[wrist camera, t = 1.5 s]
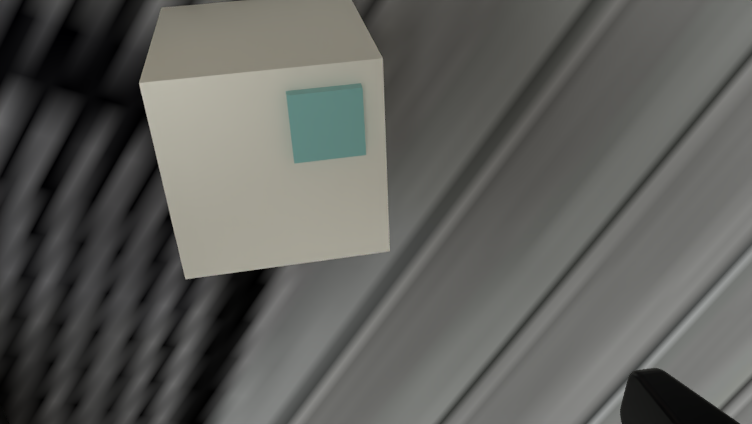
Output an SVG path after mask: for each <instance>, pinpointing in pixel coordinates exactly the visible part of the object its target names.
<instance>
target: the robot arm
mask: <svg viewBox="0 0 752 424" xmlns="http://www.w3.org/2000/svg"><path fill="white" fill-rule="evenodd" d="M620 416H621V422H622V424H740V423H738V422H737V421H735V420H734V419H733V418H731V417H730V416H728V415H727V414H725V413H724V412H723V411H721V410H720V409H718V408H717V407H715V406H714V405H712V404H711V403H710V402H708V401H707V400H705V399H704V398H702V397H701V396H699V395H698V394H697V393H695V392H694V391H692V390H691V389H689V388H688V387H687V386H685V385H684V384H682V383H681V382H679V381H678V380H676V379H675V378H674V377H672V376H671V375H669V374H668V373H666V372H665V371H663V370H661V369H658V368H651V369H643V370H636V371H633V372H632V373H631V374H630V375H629V377H628V381H627V384H626V388H625V392H624V396H623V400H622V404H621V409H620ZM0 424H9V422H8V420H7V418H6V416H5V413H4V411H3V409H2V407H1V405H0Z"/></svg>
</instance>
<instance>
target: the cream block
mask: <svg viewBox="0 0 752 424" xmlns="http://www.w3.org/2000/svg"><path fill="white" fill-rule="evenodd" d="M139 85H140V89H141V94H142V98H143V102H144V106H145V111H146V115H147V119H148V123H149V127H150V132H151V136H152V140H153V144H154V149H155V153H156V157H157V161H158V166H159V170H160V174H161V178H162V183H163V187H164V191H165V195H166V199H167V204H168V208H169V212H170V216H171V221H172V225H173V229H174V233H175V238H176V242H177V246H178V250H179V254H180V259H181V263H182V267H183V271H184V276H185V279H191V278H198V277H206V276H213V275H220V274H228V273H235V272H242V271H250V270H257V269H264V268H272V267H279V266H286V265H294V264H301V263H308V262H316V261H323V260H330V259H338V258H345V257H352V256H360V255H367V254H374V253H382V252H389V251H390V240H389V213H388V186H387V158H386V131H385V103H384V76H383V58H382V56H381V54H380V52H379V50H378V48H377V46H376V45H375V43H374V41H373V39H372V37H371V35H370V33H369V32H368V30H367V28H366V26H365V24H364V22H363V20H362V18H361V17H360V15H359V13H358V11H357V9H356V7H355V5H354V3H353V2H352V0H242V1H231V2H220V3H208V4H197V5H186V6H174V7H163V8H161V11H160V14H159V17H158V21H157V24H156V27H155V31H154V34H153V38H152V41H151V44H150V48H149V51H148V54H147V58H146V61H145V64H144V68H143V71H142V75H141V78H140V81H139Z"/></svg>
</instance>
